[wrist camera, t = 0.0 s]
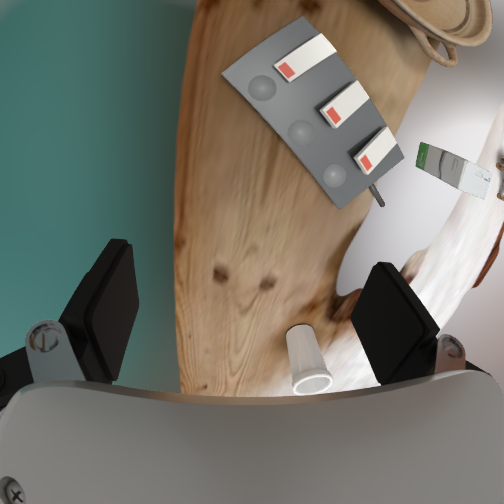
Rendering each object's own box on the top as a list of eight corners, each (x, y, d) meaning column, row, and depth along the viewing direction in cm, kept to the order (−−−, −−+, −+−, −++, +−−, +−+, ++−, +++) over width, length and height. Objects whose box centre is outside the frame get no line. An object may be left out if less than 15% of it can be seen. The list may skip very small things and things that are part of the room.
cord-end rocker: (383, 126, 33) (388, 126, 32) (393, 142, 34) (397, 143, 33) (353, 157, 33) (357, 158, 32) (364, 174, 34) (368, 175, 34)
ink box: (413, 166, 39) (456, 190, 29) (419, 140, 37) (465, 158, 27) (444, 176, 40) (485, 200, 30) (450, 152, 38) (493, 173, 28)
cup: (296, 348, 61) (307, 399, 49) (273, 334, 58) (283, 389, 45) (323, 330, 58) (341, 382, 46) (303, 314, 55) (319, 370, 43)
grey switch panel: (297, 21, 27) (303, 15, 24) (409, 182, 41) (419, 188, 38) (221, 75, 31) (221, 73, 28) (352, 229, 45) (358, 237, 42)
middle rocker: (353, 81, 29) (357, 80, 28) (366, 98, 30) (370, 97, 30) (319, 110, 30) (322, 109, 29) (333, 128, 31) (336, 128, 30)
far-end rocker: (320, 33, 24) (321, 33, 23) (335, 51, 25) (337, 51, 25) (274, 65, 28) (273, 65, 27) (289, 81, 29) (289, 82, 28)
